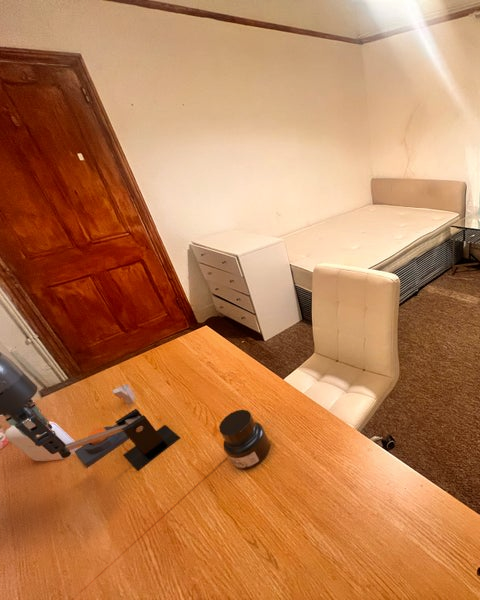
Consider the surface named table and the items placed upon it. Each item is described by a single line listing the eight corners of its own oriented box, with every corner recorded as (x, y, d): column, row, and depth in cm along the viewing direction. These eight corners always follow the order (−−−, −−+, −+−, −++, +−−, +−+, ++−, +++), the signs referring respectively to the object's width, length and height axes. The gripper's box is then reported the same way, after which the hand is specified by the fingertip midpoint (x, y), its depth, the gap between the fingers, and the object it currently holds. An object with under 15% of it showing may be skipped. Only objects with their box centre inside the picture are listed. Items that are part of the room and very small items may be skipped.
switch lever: (62, 461, 63) (61, 451, 62) (54, 450, 65) (53, 440, 64) (145, 430, 75) (145, 421, 74) (136, 421, 77) (136, 413, 77)
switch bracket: (139, 473, 74) (112, 443, 68) (125, 457, 78) (98, 428, 72) (181, 439, 81) (160, 410, 75) (167, 427, 85) (145, 398, 79)
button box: (89, 469, 76) (79, 460, 74) (79, 456, 79) (69, 447, 77) (135, 437, 83) (127, 428, 81) (124, 426, 86) (116, 417, 84)
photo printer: (31, 463, 78) (-6, 433, 72) (47, 447, 82) (13, 417, 76) (69, 461, 78) (36, 431, 72) (84, 445, 82) (53, 415, 75)
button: (94, 447, 77) (89, 442, 76) (88, 440, 79) (84, 436, 78) (111, 435, 80) (107, 431, 79) (105, 429, 81) (101, 425, 80)
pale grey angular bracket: (128, 396, 96) (114, 378, 92) (135, 393, 97) (121, 375, 93) (127, 411, 91) (111, 392, 87) (134, 408, 92) (119, 389, 87)
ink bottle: (223, 463, 75) (203, 432, 69) (249, 432, 82) (233, 402, 75) (254, 475, 72) (237, 444, 65) (279, 442, 79) (265, 411, 72)
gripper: (-49, 383, 55) (17, 439, 63) (-34, 416, 48) (37, 473, 56) (11, 358, 60) (64, 412, 68) (32, 383, 53) (88, 440, 62)
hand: (52, 440), depth 62 cm, fingers open, 8 cm apart
